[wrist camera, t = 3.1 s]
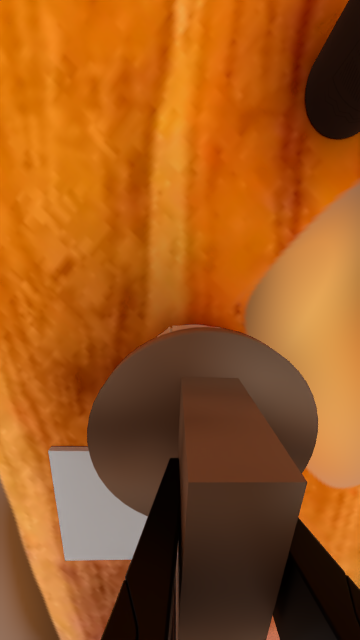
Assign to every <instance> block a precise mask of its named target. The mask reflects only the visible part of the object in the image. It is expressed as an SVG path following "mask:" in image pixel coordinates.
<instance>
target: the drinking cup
mask: <svg viewBox="0 0 360 640" xmlns="http://www.w3.org/2000/svg"><path fill="white" fill-rule="evenodd" d="M305 101H306V109H307V113H308V116H309V118H310V121H311V123H312V124H313V126H314V127H315V128H316V129H317V130H318V131H319V132H320V133H321V134H323V135H324V136H327V137H329V138H334V139H342V138H347V137H350V136H353V135H355V134H357V133H358V132H360V0H349V1H348V3H347V5H346V7H345V8H344V10H343V12H342V14H341V16H340V17H339V19H338V21H337V23H336V25H335V26H334V28H333V30H332V32H331V34H330V35H329V37H328V39H327V41H326V43H325V44H324V46H323V48H322V50H321V52H320V53H319V55H318V57H317V59H316V61H315V62H314V64H313V66H312V69H311V71H310V74H309V77H308V81H307V85H306V93H305Z"/></svg>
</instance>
